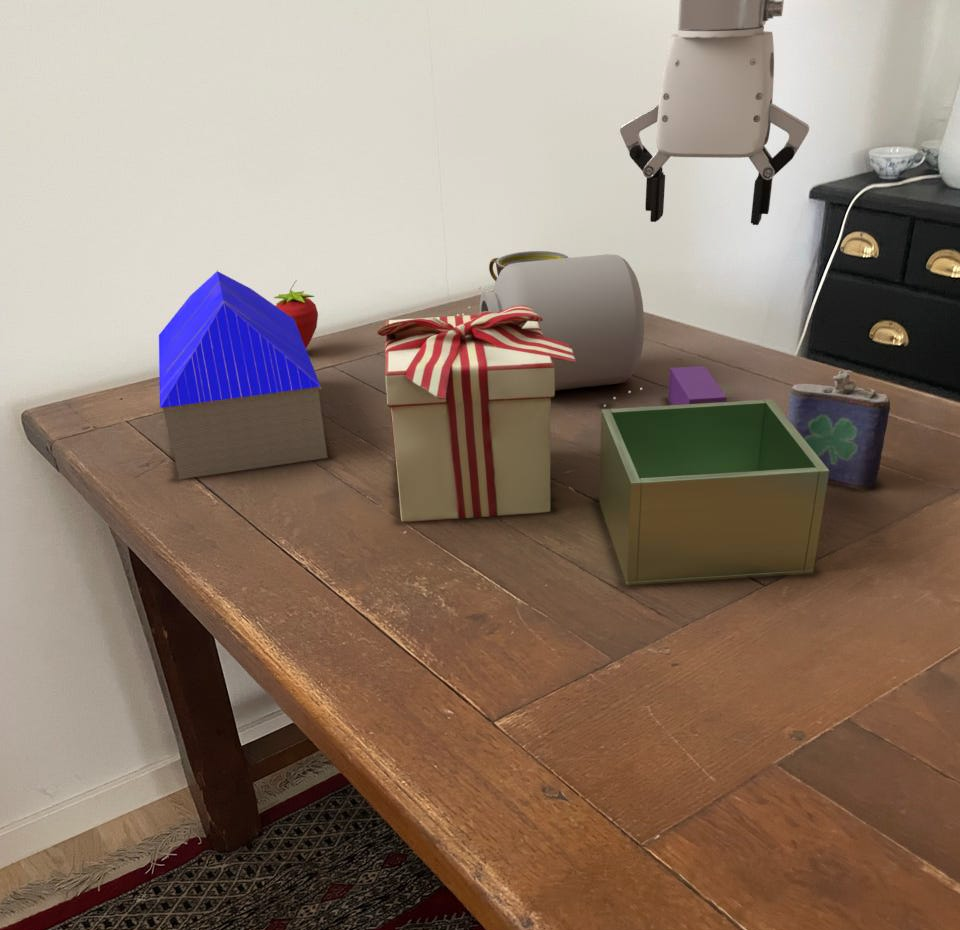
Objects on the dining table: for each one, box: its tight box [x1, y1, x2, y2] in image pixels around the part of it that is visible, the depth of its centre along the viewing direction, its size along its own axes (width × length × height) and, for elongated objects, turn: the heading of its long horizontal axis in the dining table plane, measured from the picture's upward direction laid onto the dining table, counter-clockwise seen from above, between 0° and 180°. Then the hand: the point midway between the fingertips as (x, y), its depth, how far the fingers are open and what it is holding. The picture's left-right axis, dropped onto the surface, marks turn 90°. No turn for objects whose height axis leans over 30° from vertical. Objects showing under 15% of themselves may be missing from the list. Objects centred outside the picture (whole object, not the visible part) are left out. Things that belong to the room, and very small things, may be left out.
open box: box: [598, 398, 829, 586], centre depth 89 cm, size 16×16×10 cm
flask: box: [786, 370, 891, 491], centre depth 97 cm, size 9×3×11 cm, turn 58°
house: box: [158, 270, 328, 480], centre depth 114 cm, size 25×16×16 cm, turn 15°
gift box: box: [376, 305, 576, 523], centre depth 96 cm, size 17×18×17 cm
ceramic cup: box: [488, 250, 571, 282], centre depth 140 cm, size 13×10×10 cm
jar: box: [456, 254, 645, 408], centre depth 120 cm, size 19×15×25 cm
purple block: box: [667, 365, 727, 405], centre depth 114 cm, size 4×10×4 cm, turn 3°
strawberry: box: [273, 279, 319, 349], centre depth 136 cm, size 6×8×10 cm
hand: (705, 220), depth 100 cm, fingers open, 9 cm apart
